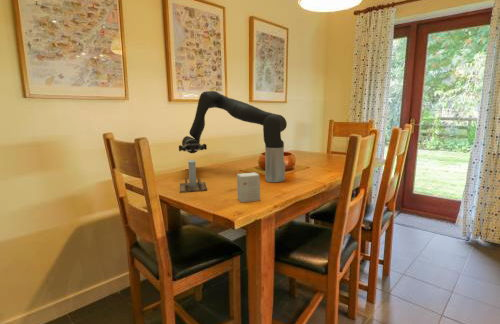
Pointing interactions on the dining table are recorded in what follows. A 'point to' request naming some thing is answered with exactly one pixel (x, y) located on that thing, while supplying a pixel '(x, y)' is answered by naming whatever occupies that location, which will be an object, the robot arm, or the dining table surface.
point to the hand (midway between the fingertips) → (193, 148)
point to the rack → (186, 188)
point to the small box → (248, 187)
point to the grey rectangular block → (192, 173)
